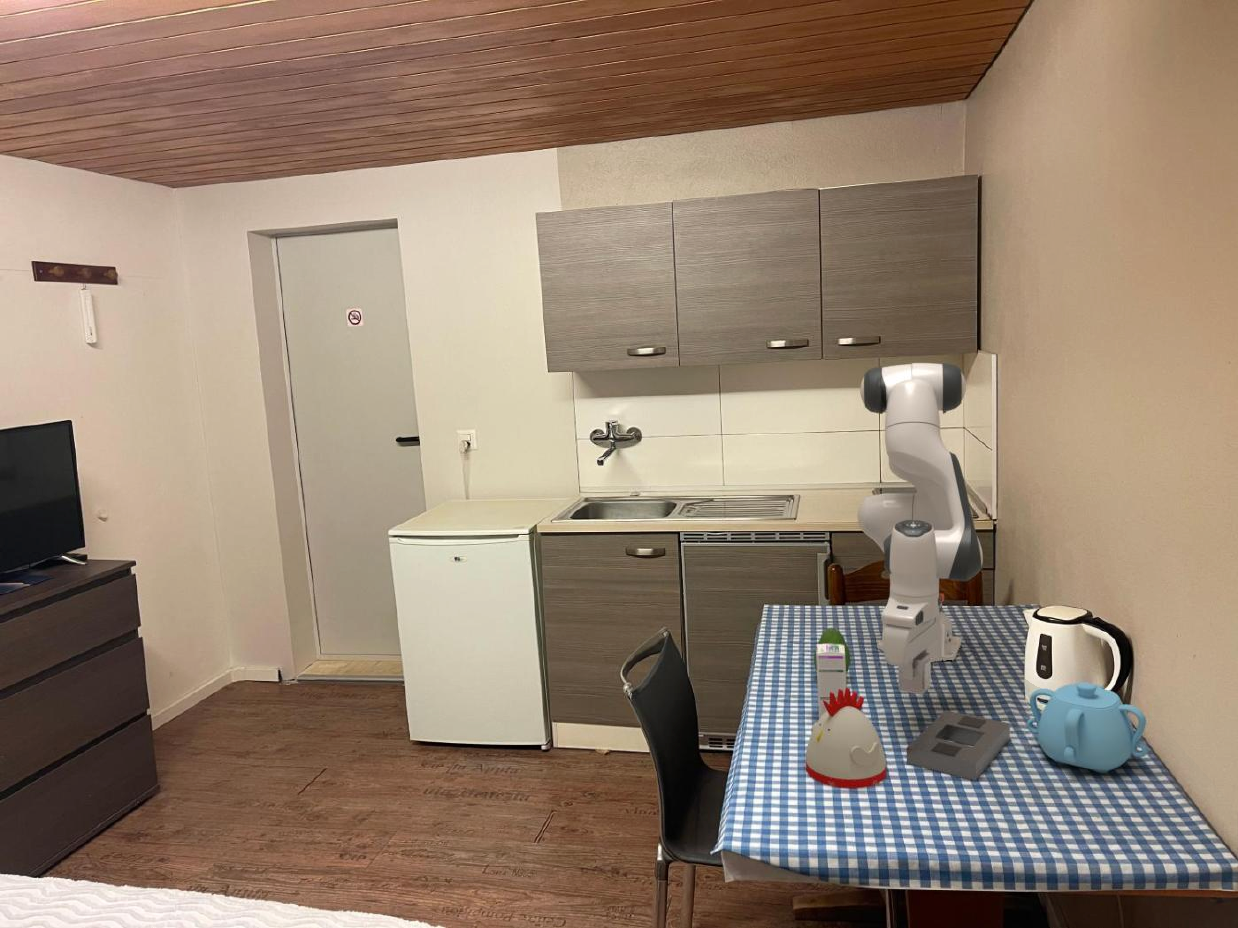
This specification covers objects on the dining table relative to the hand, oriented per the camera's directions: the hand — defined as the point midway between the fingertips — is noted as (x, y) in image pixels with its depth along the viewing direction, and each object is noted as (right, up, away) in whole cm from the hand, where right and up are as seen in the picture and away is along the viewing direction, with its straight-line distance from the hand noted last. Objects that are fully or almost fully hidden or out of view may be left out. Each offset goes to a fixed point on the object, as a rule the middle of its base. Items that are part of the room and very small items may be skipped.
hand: (914, 673), depth 177 cm
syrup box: (-15, -11, +6) cm, 19 cm away
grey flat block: (+4, -12, -12) cm, 17 cm away
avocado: (-10, -8, +26) cm, 29 cm away
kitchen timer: (-18, -14, -17) cm, 28 cm away
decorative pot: (+25, -11, -16) cm, 32 cm away
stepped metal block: (0, -3, 0) cm, 3 cm away
